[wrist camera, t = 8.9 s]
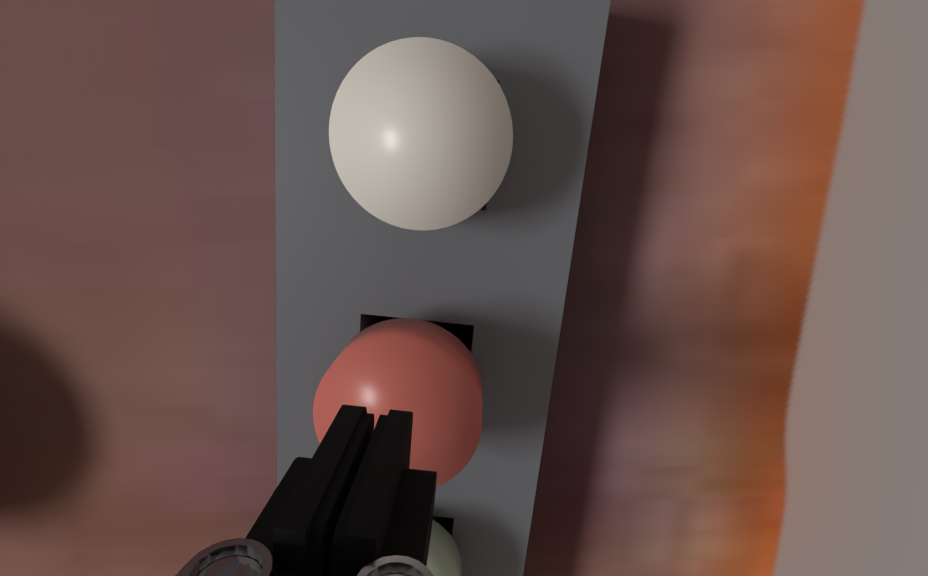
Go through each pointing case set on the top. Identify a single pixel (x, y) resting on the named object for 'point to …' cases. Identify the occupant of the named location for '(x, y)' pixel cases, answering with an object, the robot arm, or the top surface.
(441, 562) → the button sage
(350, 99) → the button cream
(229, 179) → the top surface
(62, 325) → the top surface
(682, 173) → the top surface
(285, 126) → the button panel
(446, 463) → the button red
